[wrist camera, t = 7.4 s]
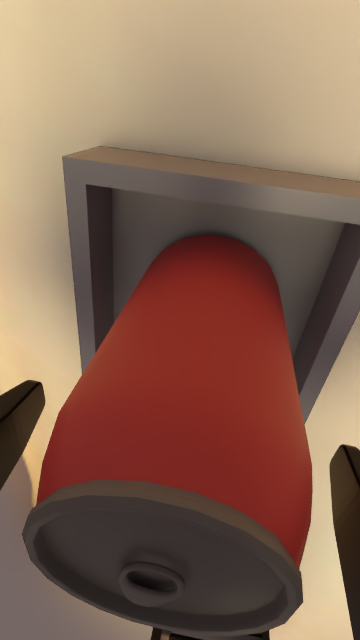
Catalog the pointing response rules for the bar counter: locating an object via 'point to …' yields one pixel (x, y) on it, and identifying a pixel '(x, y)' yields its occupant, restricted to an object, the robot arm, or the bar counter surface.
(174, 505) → the beer can
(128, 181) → the tray
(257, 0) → the bar counter surface
